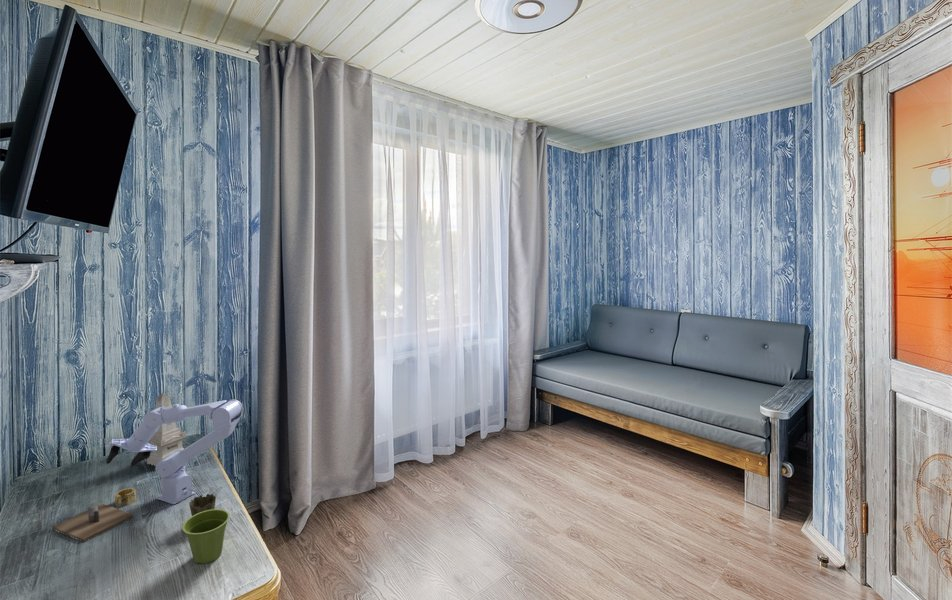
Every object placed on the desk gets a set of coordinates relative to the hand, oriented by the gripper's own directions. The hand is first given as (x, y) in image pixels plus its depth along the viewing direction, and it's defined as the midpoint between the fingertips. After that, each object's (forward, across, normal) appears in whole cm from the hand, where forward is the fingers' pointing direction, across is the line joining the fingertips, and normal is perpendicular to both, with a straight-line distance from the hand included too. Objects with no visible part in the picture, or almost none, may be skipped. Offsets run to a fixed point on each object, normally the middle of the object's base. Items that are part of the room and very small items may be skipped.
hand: (119, 463), depth 159 cm
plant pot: (-21, -14, +54) cm, 60 cm away
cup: (-15, -18, +36) cm, 43 cm away
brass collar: (+7, -6, +10) cm, 14 cm away
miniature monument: (+11, -22, -16) cm, 29 cm away
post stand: (+7, +3, +20) cm, 21 cm away
